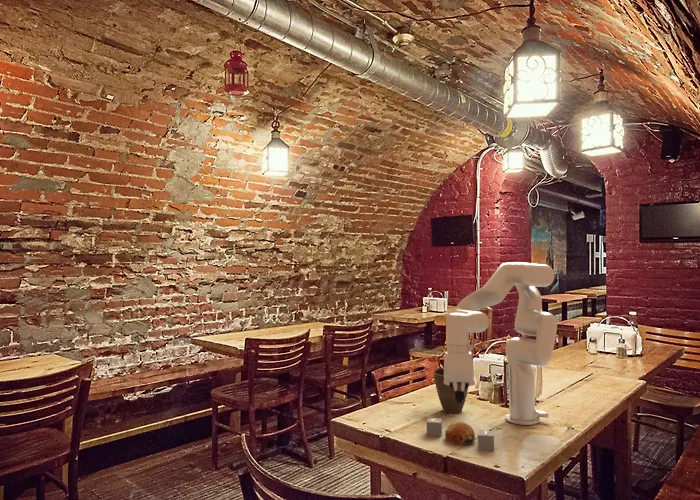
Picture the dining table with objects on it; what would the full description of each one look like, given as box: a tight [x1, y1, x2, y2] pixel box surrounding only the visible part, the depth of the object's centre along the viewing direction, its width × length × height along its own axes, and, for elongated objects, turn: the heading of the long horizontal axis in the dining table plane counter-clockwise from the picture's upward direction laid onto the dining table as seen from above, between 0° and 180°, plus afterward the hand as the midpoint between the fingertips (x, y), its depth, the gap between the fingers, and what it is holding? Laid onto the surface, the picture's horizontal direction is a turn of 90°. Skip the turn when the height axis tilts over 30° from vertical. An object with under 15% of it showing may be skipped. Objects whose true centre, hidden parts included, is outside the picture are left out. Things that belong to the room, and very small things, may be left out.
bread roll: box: [444, 421, 476, 446], centre depth 183 cm, size 10×10×8 cm
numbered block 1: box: [477, 429, 495, 452], centre depth 175 cm, size 5×5×5 cm
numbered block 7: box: [426, 417, 443, 438], centre depth 189 cm, size 5×5×5 cm
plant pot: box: [432, 367, 470, 414], centre depth 217 cm, size 15×15×16 cm
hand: (459, 401), depth 183 cm, fingers closed
